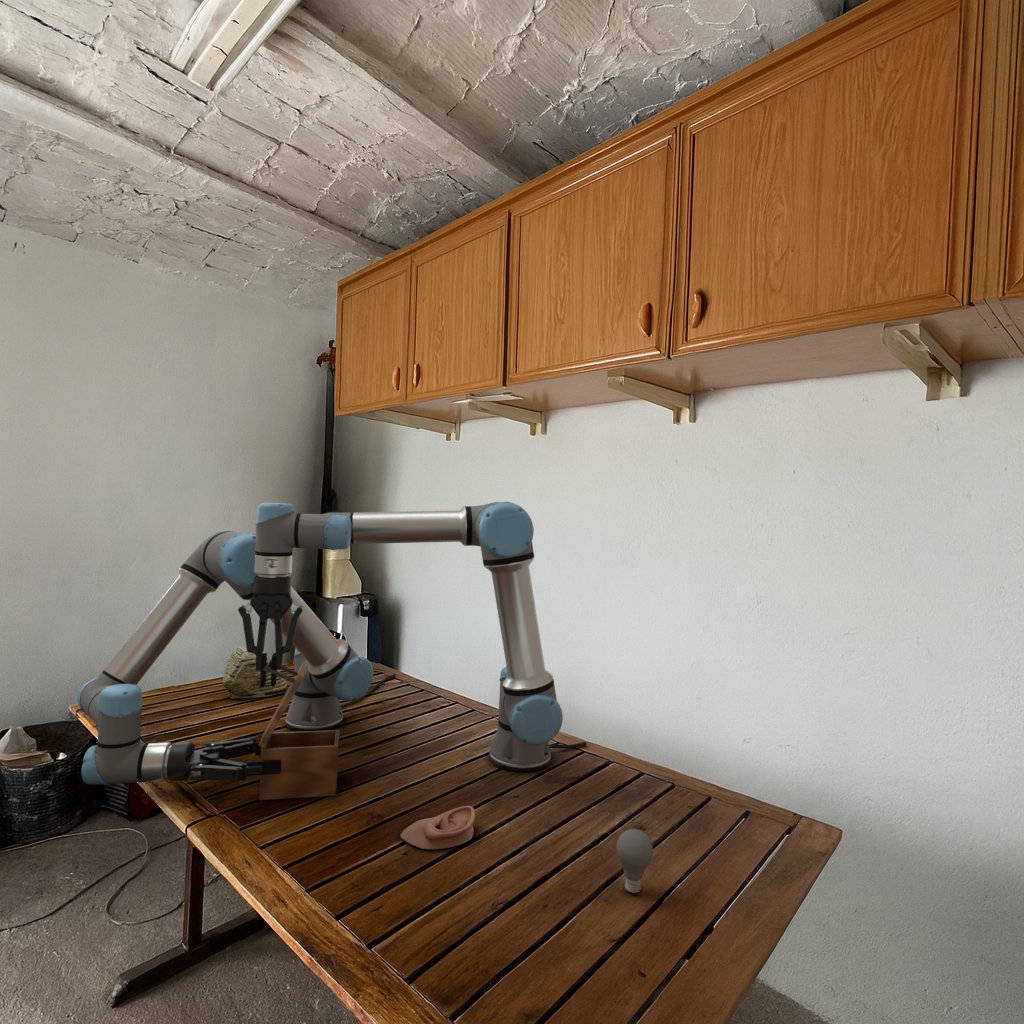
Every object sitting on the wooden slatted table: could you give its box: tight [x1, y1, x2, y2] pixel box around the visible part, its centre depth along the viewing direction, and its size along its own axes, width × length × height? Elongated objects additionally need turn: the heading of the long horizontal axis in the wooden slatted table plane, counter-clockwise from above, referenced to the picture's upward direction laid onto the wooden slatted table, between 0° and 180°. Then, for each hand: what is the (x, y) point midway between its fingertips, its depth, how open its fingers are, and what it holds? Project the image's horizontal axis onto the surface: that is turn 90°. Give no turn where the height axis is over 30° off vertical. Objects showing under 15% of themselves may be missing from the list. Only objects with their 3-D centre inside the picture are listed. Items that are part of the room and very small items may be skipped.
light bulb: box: [615, 828, 654, 894], centre depth 106 cm, size 6×6×10 cm
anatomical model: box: [399, 805, 476, 850], centre depth 121 cm, size 13×4×12 cm
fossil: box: [222, 646, 288, 699], centre depth 198 cm, size 9×18×15 cm, turn 132°
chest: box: [258, 729, 340, 801], centre depth 137 cm, size 15×10×11 cm, turn 103°
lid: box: [259, 657, 308, 748], centre depth 136 cm, size 16×10×8 cm
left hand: (283, 756), depth 137 cm, fingers closed on chest, 10 cm apart
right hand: (268, 684), depth 135 cm, fingers closed on lid
